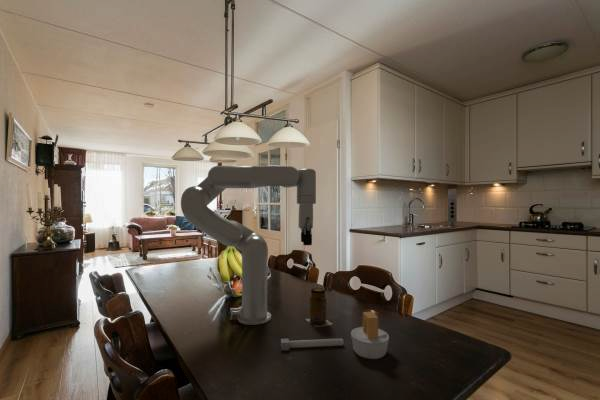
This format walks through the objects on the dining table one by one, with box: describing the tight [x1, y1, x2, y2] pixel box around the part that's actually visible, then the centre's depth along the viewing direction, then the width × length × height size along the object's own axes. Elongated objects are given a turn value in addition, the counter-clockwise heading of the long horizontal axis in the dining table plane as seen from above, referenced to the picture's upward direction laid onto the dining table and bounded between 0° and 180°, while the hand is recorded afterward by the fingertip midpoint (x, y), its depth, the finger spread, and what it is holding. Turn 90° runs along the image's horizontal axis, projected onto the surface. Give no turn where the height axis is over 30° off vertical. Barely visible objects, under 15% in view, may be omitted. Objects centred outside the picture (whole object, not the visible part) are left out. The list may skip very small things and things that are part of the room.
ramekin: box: [350, 326, 390, 360], centre depth 90 cm, size 11×11×5 cm
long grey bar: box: [280, 338, 345, 351], centre depth 93 cm, size 20×3×2 cm, turn 96°
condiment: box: [304, 287, 333, 328], centre depth 112 cm, size 7×8×12 cm
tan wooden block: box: [362, 311, 379, 338], centre depth 90 cm, size 3×5×6 cm, turn 6°
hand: (306, 243), depth 119 cm, fingers open, 9 cm apart
